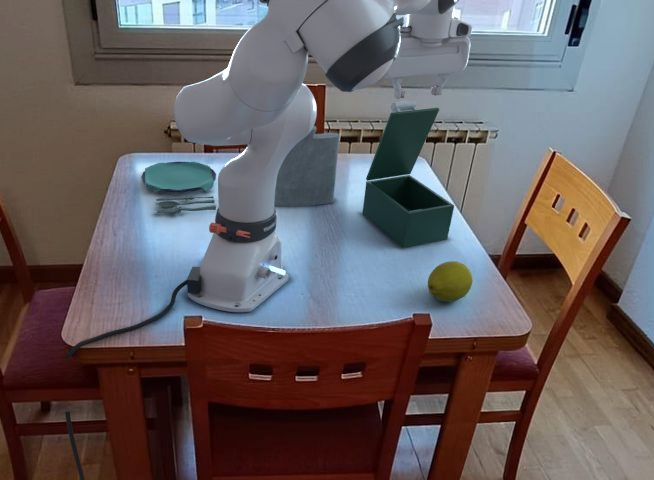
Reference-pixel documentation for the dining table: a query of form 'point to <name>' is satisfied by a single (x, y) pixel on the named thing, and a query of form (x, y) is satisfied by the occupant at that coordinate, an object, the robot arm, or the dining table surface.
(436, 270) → the lemon
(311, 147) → the hip flask
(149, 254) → the dining table surface
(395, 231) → the bin
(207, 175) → the cutlery set
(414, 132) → the bin lid
